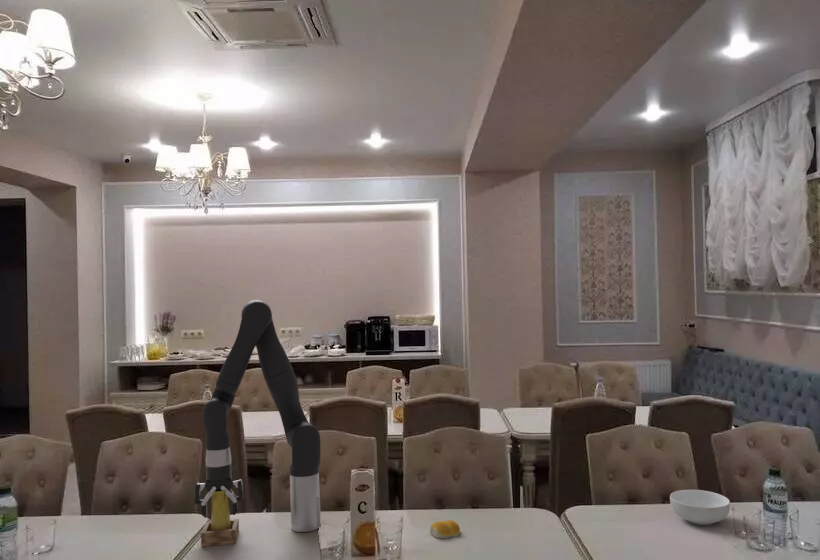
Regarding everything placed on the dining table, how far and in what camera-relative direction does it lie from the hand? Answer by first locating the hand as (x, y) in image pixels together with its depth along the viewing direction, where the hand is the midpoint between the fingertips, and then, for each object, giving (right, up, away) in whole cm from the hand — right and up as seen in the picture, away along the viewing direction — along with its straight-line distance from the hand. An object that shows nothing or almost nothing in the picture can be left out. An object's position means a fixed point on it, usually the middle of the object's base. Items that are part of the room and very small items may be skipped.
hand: (220, 515), depth 196 cm
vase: (0, -6, 0) cm, 6 cm away
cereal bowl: (+149, -2, +1) cm, 149 cm away
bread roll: (+69, -5, -2) cm, 69 cm away
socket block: (0, -7, 0) cm, 7 cm away
